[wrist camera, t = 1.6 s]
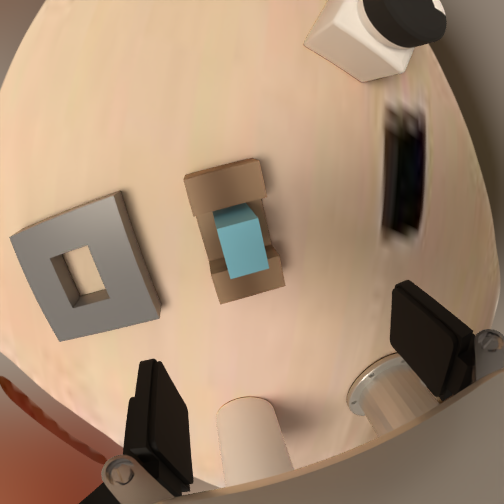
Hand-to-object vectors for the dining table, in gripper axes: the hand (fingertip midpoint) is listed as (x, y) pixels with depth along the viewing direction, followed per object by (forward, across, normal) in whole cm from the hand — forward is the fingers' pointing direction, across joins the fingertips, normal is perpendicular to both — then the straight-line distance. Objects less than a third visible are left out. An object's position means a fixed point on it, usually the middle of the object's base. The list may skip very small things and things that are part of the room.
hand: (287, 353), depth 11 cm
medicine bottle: (+19, -15, -16) cm, 29 cm away
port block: (+19, +15, 0) cm, 24 cm away
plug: (+18, 0, 0) cm, 18 cm away
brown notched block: (+18, 0, 0) cm, 19 cm away
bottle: (+18, +5, +26) cm, 33 cm away
